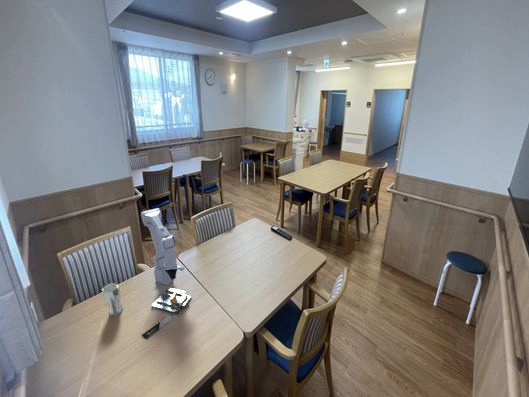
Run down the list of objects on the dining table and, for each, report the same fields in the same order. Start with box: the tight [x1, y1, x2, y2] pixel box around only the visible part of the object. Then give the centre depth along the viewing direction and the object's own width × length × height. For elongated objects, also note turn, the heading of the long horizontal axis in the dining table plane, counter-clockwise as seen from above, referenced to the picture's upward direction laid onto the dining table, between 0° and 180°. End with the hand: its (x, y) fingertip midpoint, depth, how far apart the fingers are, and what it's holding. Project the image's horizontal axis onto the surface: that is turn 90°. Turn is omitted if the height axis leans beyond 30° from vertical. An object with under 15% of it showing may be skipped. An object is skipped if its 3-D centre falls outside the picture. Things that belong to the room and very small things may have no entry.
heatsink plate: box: [151, 287, 192, 316], centre depth 133 cm, size 16×12×4 cm
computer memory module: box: [141, 314, 174, 340], centre depth 119 cm, size 15×1×4 cm
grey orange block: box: [170, 293, 189, 308], centre depth 131 cm, size 8×4×4 cm, turn 73°
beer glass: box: [101, 282, 124, 316], centre depth 125 cm, size 7×7×15 cm
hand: (173, 278), depth 136 cm, fingers closed
